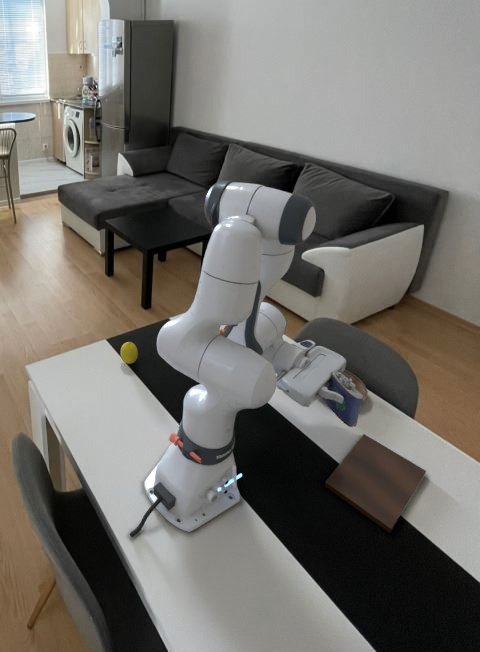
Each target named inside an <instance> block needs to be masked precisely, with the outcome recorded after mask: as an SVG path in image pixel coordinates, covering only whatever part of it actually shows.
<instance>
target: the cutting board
mask: <svg viewBox="0 0 480 652" xmlns="http://www.w3.org/2000/svg"><path fill="white" fill-rule="evenodd" d="M426 473H427V470H426V469H424V468H422V467H420V466H419V465H417V464H415V463H414V462H413V461H411V460H409V459H407V458H405V457H403V456H402V455H400V454H399V453H397V452H395V451H394V450H392V449H390V448H388V447H387V446H385V445H384V444H382V443H380V442H378V441H377V440H375V439H373V438H372V437H370V436H368V435H367V434H365V433H364V434H362V436H361V437H360V438H359V440H358V441H357V442H356V443H355V445H354V446H353V447H352V448H351V450H350V451H349V452H348V453H347V454H346V456H345V457H344V458H343V460H342V461H341V462H340V463H339V464H338V466H337V467H336V468H335V469H334V471H333V472H332V473H331V474H330V475H329V477H328V478H327V479H326V481H325V484H324V487H325V488H326V489H328V490H329V491H330V492H332V493H333V494H334V495H336V496H337V497H339V498H340V499H341V500H342V501H344V502H346V503H347V504H348V505H350V506H351V507H353V508H354V509H355V510H357V511H358V512H359V513H361V514H363V515H364V516H365V517H367V519H369V520H370V521H372V522H373V523H375V524H376V525H377V526H379V527H380V528H381V529H383V530H384V531H386V532H387V533H388V534H391V533H392V531H393V530H394V528H395V526H396V524H397V523H398V522H399V520H400V518H401V516H402V515H403V513H404V512H405V510H406V508H407V506H408V505H409V503H410V501H411V499H412V498H413V497H414V495H415V493H416V491H417V489H418V488H419V486H420V485H421V483H422V481H423V479H424V478H425V476H426Z"/></svg>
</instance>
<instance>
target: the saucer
mask: <svg viewBox="0 0 480 652" xmlns="http://www.w3.org/2000/svg"><path fill="white" fill-rule="evenodd" d="M342 374H343V375H344V376H345V377H347V378H348V379H349V380H350V378H351V379H352V383H354V384H355V389H356V390H358V391H359V392H360V393H361V394H362V395H363V396H364V399H363V402H365V401H366V400H367V398H368V395H369V393H368V389H367V387H366V384H365V383H364V381H362V380H361V379H360V378H359V377H358V376H356V375H355V374H354V373H352V372H350V371H348V370H346V369H345V370H344V371H343V372H342ZM323 399H324V400H325V398H323Z"/></svg>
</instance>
